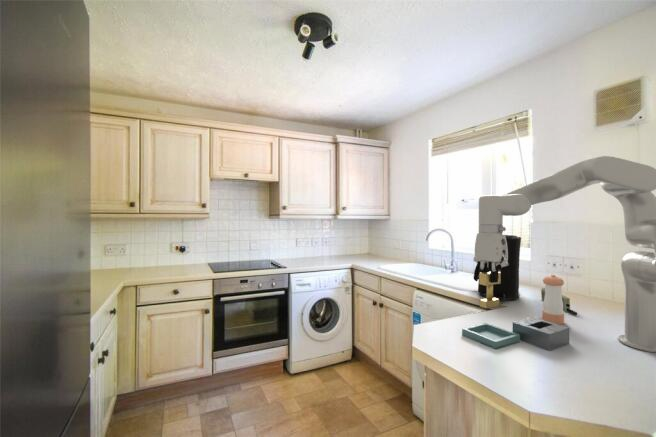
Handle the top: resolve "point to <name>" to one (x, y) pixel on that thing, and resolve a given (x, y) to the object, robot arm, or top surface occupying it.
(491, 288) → the t key
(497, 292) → the black backpack
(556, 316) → the pepper shaker
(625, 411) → the top surface
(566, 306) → the handheld radio
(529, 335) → the block
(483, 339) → the tray
